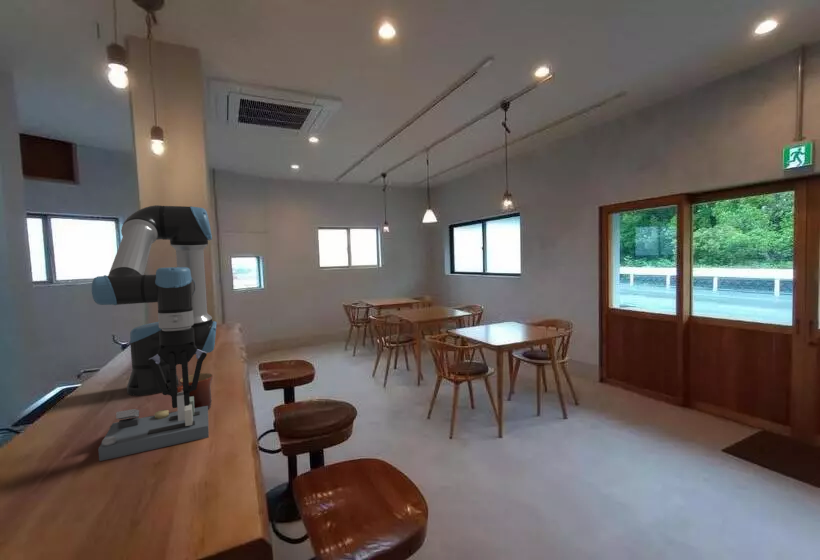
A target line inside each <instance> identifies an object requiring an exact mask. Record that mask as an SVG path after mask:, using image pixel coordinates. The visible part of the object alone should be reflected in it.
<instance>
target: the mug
mask: <svg viewBox="0 0 820 560" xmlns="http://www.w3.org/2000/svg"><path fill="white" fill-rule="evenodd" d="M188 377H189V386H190V385H192V382H193V377H194V373H193V374H188ZM212 379H213V374H212V373H210V372H209V373H208V372H202V373H201V372H200V375H199V380H198V385H197V389H196V390H193V391H191V392H190V393H189V397H192V396H194V408H198V407H203V406H208V411H209V410H210V408H211V407H212V389H211V385H212ZM178 383H179V384H180V385H179V386H177V390H178V391H177V393H180V392H182V391H183V379H182V377H181V378H180V379H178Z"/></svg>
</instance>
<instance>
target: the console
mask: <svg viewBox="0 0 820 560" xmlns="http://www.w3.org/2000/svg"><path fill="white" fill-rule="evenodd" d="M194 409H195V411H194V415H193V422H192V425H189V426H185V420H183V421H178V410H176V411H171V412H170V410H168V409H163V410H158V411H156V412H154V415H150V416H145V417H140V416H138V417H133V418H127V419H119V421H117V422H112V424H111V425H110V427H109V429H108V431H107V433H106V434H105V436H104V438H103V439H102V440H101V443H100V445H99V447H98V449H97V450H98V461H99V462H101V461H106V460H112V459H116V458H120V457H124V456H130V455H134V454H138V453H142V452H147V451H152V450H156V449H161V448H165V447H166V448H167V447H170V446H175V445H179V444H182V443H183V444H185V443H188V442H193V441H197V440H202V439H207V438H209V432H210V431H209V430H210V429H209V410H208V406H203V407H198V408H194Z"/></svg>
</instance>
